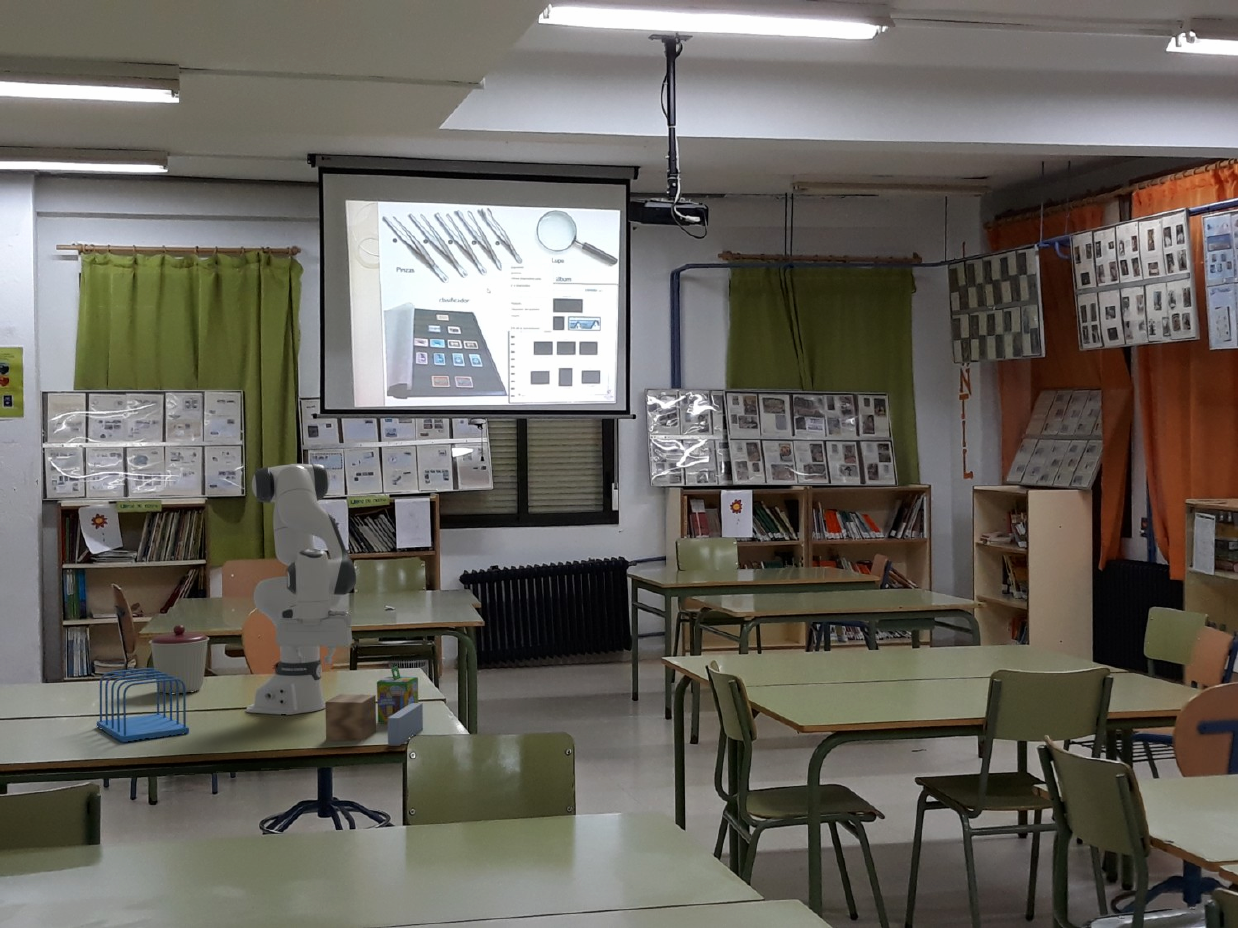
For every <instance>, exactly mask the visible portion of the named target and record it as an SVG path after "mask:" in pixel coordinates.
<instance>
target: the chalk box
mask: <svg viewBox="0 0 1238 928" xmlns="http://www.w3.org/2000/svg"><path fill="white" fill-rule="evenodd" d="M390 670H391V675H392V676H387V677H384V678H381V679H379V680H378V681H376V694H377V695H376V698H377V700H376V704H377V723H378V724H388V717H390V716H392V715H393V714H395V713H396V712H398V711H400V710H401V709H403V708H405V707H406V706H408V705H409V704H411V703H419V678H418V676H417V677H416V676H401V674H400V671H399V667H398V666H397V665H396V666H393V667H392V668H391V669H390ZM395 672H396V674H395Z"/></svg>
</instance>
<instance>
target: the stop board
mask: <svg viewBox="0 0 1238 928" xmlns="http://www.w3.org/2000/svg"><path fill="white" fill-rule="evenodd" d="M423 705H424V703H422V702H418V703H411V704H409V705H408V706H406V707H405V708H403V709H401V710H400V711H398V712H396V713H395V714H393V715H392V716H390V717H388V723H387V746H393V747H394V746H397V747H398V746H401V745H403V744H404V743H405V742H407V741H408V740H409V739H408V738H409V737H411V736H412V735H414V734H415V735H416V734H418V733H419V731H420V732H421V731H422V730H423V729H424V726H423V725H424V720H423V719H424V717H423V716H424V713H423V710H424V709H423V708H424V706H423ZM415 735H414V736H415ZM412 737H413V736H412ZM412 737H411V738H412ZM407 739H408V740H407Z"/></svg>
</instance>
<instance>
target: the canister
mask: <svg viewBox="0 0 1238 928" xmlns="http://www.w3.org/2000/svg"><path fill="white" fill-rule="evenodd" d="M172 629H173V630H172V631H173V633H165V634H161V635H157V636H155V637H153V638H152V639H150V640H149V641H148V644H149V645H150V646H151V655H152V663H153V669H155V670H156V671H160V672H162V673H165V674H167V675H169V676H172V677H174V678H176V679H180V680H182V681H183V682H184V684H185V692H191V691H195V690H197V691H199V690H201V688H202V686H203V685H204V684H203V683H204V678H205V670H206V661H207V650H208V641H209V640H210V637H208V636H206V635H205V634H204V633H200V632H185V631H186V628H185V626H184V625H182V624H178V625H175V626H174V627H173V628H172ZM154 674H156V673H154ZM161 676H162V675H159V677H161ZM164 676H165V675H164ZM154 677H157V676H154ZM166 679H169V678H165V680H166ZM171 679H172V678H171ZM156 680H157V679H155V681H156ZM159 680H163V679H159ZM178 686H179V693H183V685H182V683H181V682H179V681H178ZM162 692H163V682H159V693H162ZM195 692H196V691H195ZM165 693H170V681H167V682H165ZM172 693H176V682H175V681H172ZM191 693H192V692H191Z"/></svg>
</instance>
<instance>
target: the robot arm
mask: <svg viewBox="0 0 1238 928" xmlns="http://www.w3.org/2000/svg"><path fill="white" fill-rule="evenodd" d="M330 482H331V480H330V475H329V472H328V470H327V469H326V467H325V466H324V465H323V464H321V463H313V462H312V463H311V464H309V463H289V464H285V465H284V464H283V465H276V466H270V467H268V466H265V467H261V468H258V469H257V470H256V471H255V472H254V473H253V476H252V481H251V489H252V493H253V495H254V497H255V499H256V500H257V501H258V502H260V503H264V504H265V503H266V504H271V503H274V509H273V518H272V519H273V536H274V547H275V548H274V549H275V550H274V551H275V557H276V558H277V559H278V561H279V562H280V563H282V564H283V565H286V566H287V568H286V576H274V577H272V578H271V577H270V578H266V579H263V580H260V581H259V582H258V583H257V584H256V586H255V589H254V592H253V603H254V605H255V607H256V608H257V610H258V612H260V613H261V614H263V615H264V616H266V617H267V618H268V619H269V620H270V621H271V622H272V624H273V625H274V626H275V629H276V630H275V642H276V644H277V646H279V650H280V651H279V652H280V660H279V661H278V662H276V663H274V664H273V665H272V670H274V673H273V675H272V676H271V677H270V678H268V679H266V680H265V682H263V683H262V684H261V685H259V687H258V688H257V689H256V691H255V696H254V702H253V703H252V704H249V705H248V706H247V707H246V712H247V713H252V714H256V713H257V714H269V715H281V714H286V716H289V715H297V714H302V713H303V714H305V713H311V712H315V711H316V712H317V711H321V710H323V709H325V702H326V701H325V698H324V693H323V687H322V682H321V681H322V680H321V679H322V673H323V672H322V671H323V668H322V660H321V658H320V647H325V648H326V647H327V650H328V651H329V652H328V654H327V655H326V656H324V658H323V660H324V661H323V662H324V664H326V665H327V664H331V663H333V656H334V654H335V652H336V650H337V647H342V648H343V647H344V648H345V647H346V648H347V647H348V646H350V645H351V644H352V642H353V635H352V634H353V633H352V616H351V615H350V614H349V613H348V612H347V611H345V610H342V611H339V610H338V611H337V610H332V609H336V608H338V607H339V605H340V604H341V603H342V601H343V598H344V596H345V595H347V594H349V593H350V592H351V591H352V590H353V589H354V587H355V586H356V585H357V572H356V568H355V565H354V563H353V560H352V559H351V557H350V556H349V553H348V551H347V548H346V545H345V544H344V540H343V537H342V536H341V532H340V530H339V528H338V525H337V523H336V521H335V519H334V517H333V515H332V514H331V513H330V512H328V511H326V510H325V509H324V508H323V507H322V506H321V504H320V503H319V502H318V501H320V500H322V499H324V497H325V496H326V495H327V494H328V490H329V488H330ZM314 536H315V537H317V538H318V539H320V540H322V541H323V542H324V544H325V545H326V549H327V551H328V554H329V556H330V558H329V557H328V554H327V552H326V551H325V550H323V549H317V548H315V543H314Z"/></svg>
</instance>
